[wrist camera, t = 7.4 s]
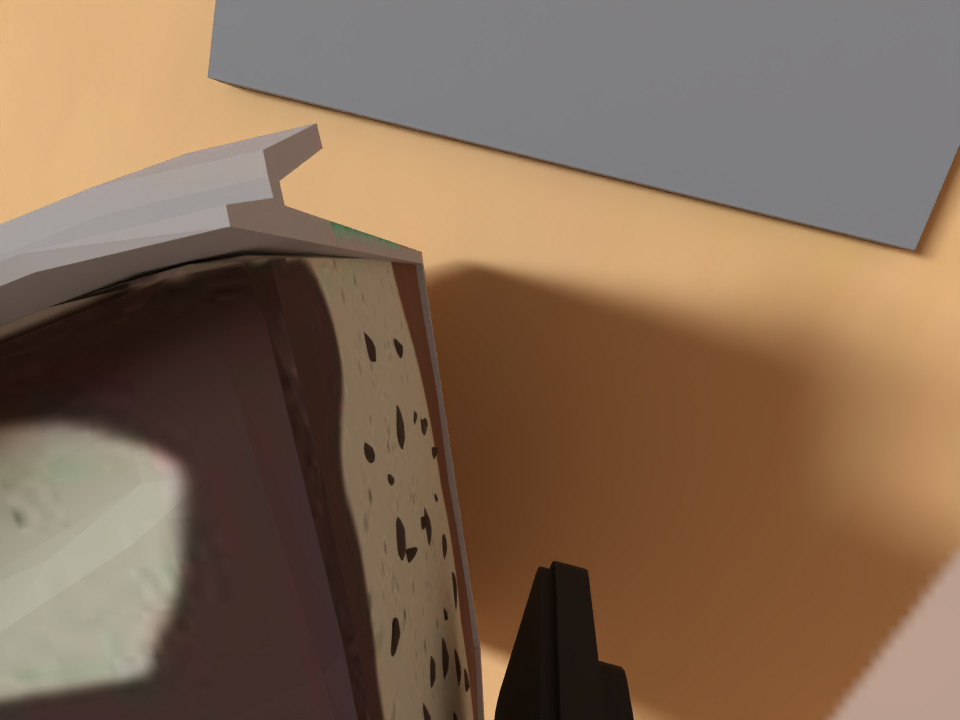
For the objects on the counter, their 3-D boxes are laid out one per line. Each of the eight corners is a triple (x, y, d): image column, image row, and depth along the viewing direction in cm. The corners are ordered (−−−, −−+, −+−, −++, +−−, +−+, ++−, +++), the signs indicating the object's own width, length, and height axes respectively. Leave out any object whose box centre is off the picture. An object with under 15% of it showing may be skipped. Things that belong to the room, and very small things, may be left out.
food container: (94, 215, 12) (-1458, 273, 2) (410, 173, 12) (193, 54, 2) (237, 732, 15) (-169, 1694, 5) (488, 700, 15) (538, 1605, 5)
